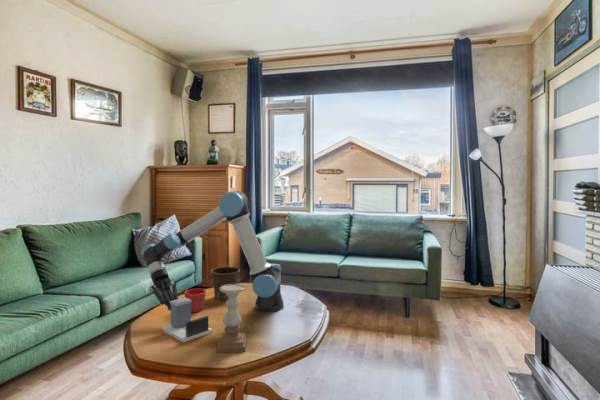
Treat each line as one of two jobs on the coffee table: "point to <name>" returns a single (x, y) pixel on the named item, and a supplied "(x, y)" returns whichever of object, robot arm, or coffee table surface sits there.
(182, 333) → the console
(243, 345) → the candle holder
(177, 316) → the grey rectangular block
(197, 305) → the flower pot
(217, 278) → the plant pot
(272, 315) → the coffee table surface
